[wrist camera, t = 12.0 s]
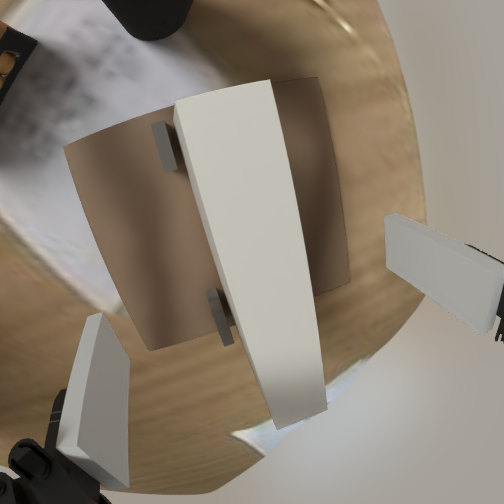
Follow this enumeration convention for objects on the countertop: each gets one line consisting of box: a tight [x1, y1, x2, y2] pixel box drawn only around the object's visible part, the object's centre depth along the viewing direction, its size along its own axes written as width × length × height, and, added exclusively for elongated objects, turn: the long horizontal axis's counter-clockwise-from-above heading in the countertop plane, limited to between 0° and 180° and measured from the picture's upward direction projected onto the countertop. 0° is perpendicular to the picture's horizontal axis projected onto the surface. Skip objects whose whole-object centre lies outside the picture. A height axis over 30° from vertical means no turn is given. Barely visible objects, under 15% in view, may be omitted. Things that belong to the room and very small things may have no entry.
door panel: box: [173, 79, 327, 430], centre depth 17 cm, size 3×16×12 cm, turn 14°
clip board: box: [63, 77, 350, 352], centre depth 22 cm, size 19×18×5 cm
